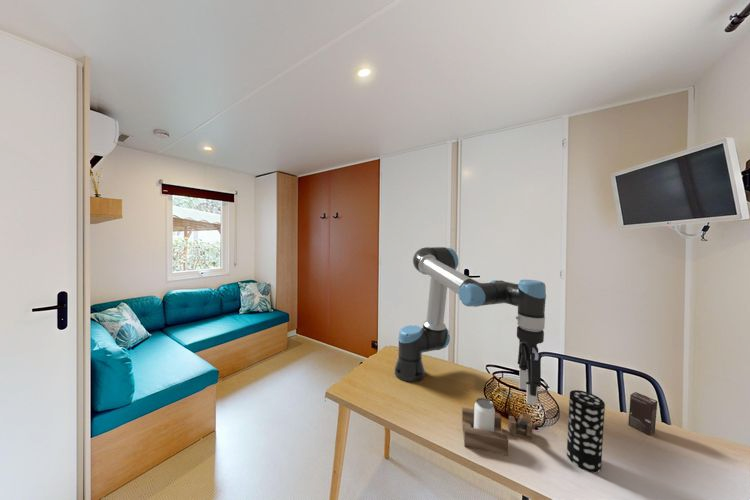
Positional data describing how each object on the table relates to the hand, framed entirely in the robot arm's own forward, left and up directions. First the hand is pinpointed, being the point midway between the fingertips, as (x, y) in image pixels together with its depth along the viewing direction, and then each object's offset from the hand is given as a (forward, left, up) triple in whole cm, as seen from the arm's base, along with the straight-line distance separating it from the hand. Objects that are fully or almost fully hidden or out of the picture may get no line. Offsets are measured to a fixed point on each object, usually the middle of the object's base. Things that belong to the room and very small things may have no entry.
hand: (527, 395), depth 83 cm
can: (-1, -13, -17) cm, 22 cm away
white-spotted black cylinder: (+1, +16, -17) cm, 24 cm away
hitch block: (-1, -8, -17) cm, 19 cm away
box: (-21, +44, -17) cm, 52 cm away
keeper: (-2, 0, -12) cm, 12 cm away
